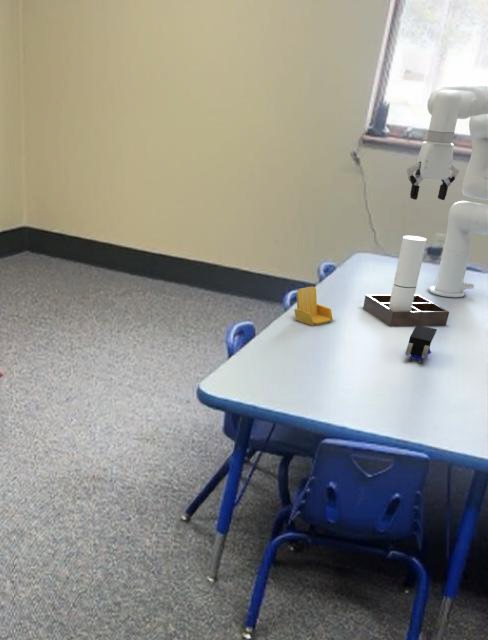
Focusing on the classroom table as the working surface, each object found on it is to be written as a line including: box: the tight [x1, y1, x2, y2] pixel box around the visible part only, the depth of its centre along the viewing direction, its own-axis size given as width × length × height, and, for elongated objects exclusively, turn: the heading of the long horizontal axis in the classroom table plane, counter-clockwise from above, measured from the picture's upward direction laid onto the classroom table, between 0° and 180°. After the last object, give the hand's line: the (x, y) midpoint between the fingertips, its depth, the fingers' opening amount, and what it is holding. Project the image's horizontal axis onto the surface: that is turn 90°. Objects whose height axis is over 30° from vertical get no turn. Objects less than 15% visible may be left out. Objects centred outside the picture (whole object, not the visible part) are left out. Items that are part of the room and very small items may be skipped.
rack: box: [362, 294, 450, 327], centre depth 266 cm, size 20×20×5 cm
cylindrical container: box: [389, 235, 427, 311], centre depth 255 cm, size 7×7×25 cm
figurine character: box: [405, 325, 438, 364], centre depth 230 cm, size 7×8×15 cm
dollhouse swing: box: [294, 286, 334, 327], centre depth 254 cm, size 10×10×9 cm
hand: (427, 199), depth 252 cm, fingers open, 9 cm apart
